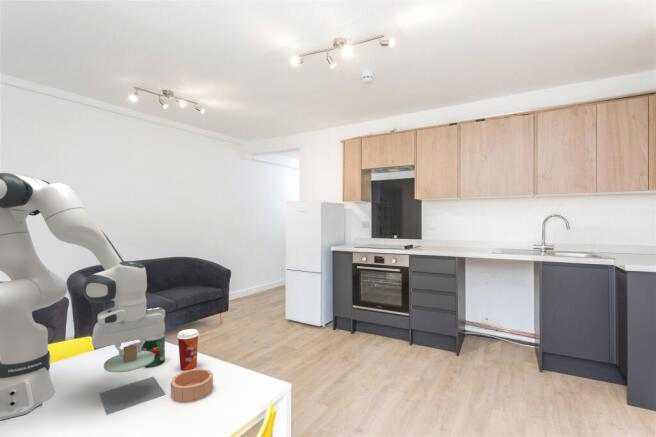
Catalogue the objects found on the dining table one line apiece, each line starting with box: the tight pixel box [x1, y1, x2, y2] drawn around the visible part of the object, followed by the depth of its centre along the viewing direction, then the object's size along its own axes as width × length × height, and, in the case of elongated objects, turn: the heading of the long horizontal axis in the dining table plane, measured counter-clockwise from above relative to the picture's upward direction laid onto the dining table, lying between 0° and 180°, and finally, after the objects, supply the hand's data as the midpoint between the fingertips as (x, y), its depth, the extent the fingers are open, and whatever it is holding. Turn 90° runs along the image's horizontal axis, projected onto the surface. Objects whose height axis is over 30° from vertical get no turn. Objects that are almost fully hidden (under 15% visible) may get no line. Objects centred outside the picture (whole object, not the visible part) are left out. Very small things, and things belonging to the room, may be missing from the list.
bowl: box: [170, 368, 214, 404], centre depth 106 cm, size 12×12×5 cm
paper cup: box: [176, 328, 200, 372], centre depth 123 cm, size 8×8×14 cm
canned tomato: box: [142, 333, 166, 369], centre depth 127 cm, size 8×8×11 cm
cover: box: [103, 344, 154, 373], centre depth 105 cm, size 14×14×5 cm
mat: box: [99, 376, 167, 416], centre depth 105 cm, size 16×16×1 cm
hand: (130, 354), depth 105 cm, fingers closed on cover, 3 cm apart
